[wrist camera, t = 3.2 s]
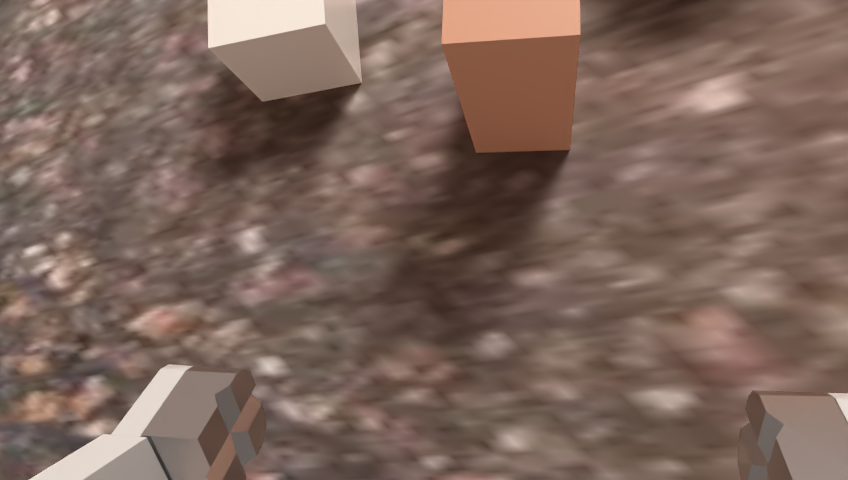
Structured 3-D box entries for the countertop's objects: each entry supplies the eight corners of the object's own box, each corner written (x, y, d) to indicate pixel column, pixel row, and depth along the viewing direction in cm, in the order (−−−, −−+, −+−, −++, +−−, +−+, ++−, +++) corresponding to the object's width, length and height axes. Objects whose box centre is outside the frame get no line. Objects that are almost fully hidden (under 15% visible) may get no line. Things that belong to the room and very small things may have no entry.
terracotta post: (569, 64, 27) (578, -87, 18) (569, 149, 26) (580, 34, 17) (478, 69, 28) (446, -73, 19) (476, 152, 27) (441, 44, 18)
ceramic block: (354, -9, 30) (318, -83, 25) (362, 83, 29) (325, 23, 24) (260, 12, 31) (207, -56, 26) (263, 102, 30) (208, 48, 25)
